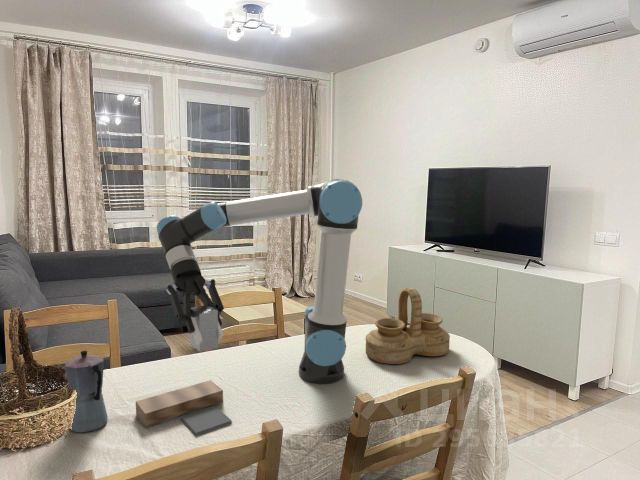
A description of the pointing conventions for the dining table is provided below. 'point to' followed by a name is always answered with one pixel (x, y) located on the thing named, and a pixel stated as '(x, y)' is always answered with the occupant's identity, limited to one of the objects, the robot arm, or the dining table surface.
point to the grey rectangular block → (205, 327)
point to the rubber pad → (205, 420)
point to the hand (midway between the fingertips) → (210, 340)
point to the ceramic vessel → (407, 333)
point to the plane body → (178, 403)
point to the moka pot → (87, 391)
